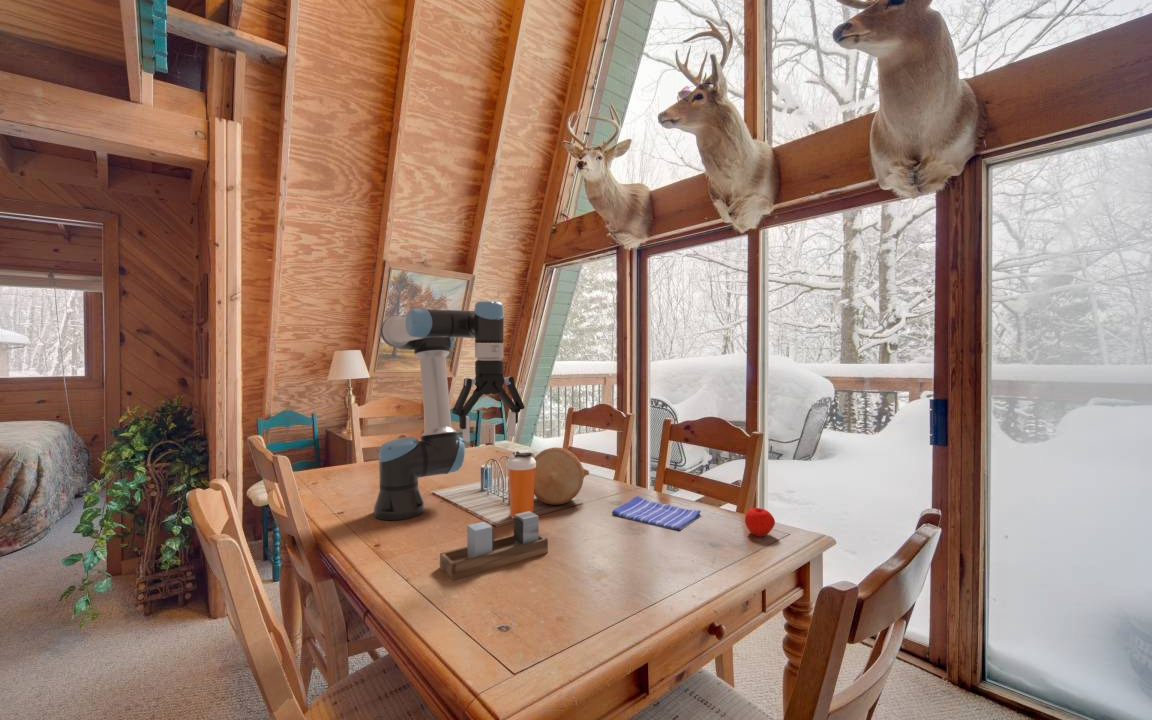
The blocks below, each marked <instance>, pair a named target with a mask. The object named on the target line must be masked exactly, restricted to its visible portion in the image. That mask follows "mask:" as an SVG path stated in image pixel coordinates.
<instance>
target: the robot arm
mask: <svg viewBox="0 0 1152 720" xmlns="http://www.w3.org/2000/svg"><path fill="white" fill-rule="evenodd" d="M504 318H505V315H504V305H503V304H502V302H500V301H489V300H488V301H487V300H485V301H484V300H483V301H477V302H476V303H475V304H474V310H455V309H453V310H452V309H447V310H445V309H428V308H427V309H426V308H411V309H409V310H408V311H407V314H406V315H405V314H404V315H395V316H394V315H393V316H391V317H389V318H385V320H384V321H383V322H382V324H381V326H380V329H379V331H380V338H382V341H384V343H385V344H387V345H388V346H389V347H392V348H394V349H397V350H405V351H407V350H408V351H411V350H412V351H414V357H415V358H416V359H418V360H419V367H420V379H421V391H422V402H423V403H422V404H423V414H424V415H423V416H424V429H425V430H424V432H423V433H422V434H421V435H420V437H421V440H419V439H418V438H417V437H415V436H408V437H400V438H394V439H391V440H388V441H386V442H384V443H382V444H381V446H380V447H379V452H378V453H379V455H378V462H379V468H378V470H379V491H378V495H377V497H376V502H375V504H374V507H373V516H374V518H377V520H378V519H379V520H383V521H399V520H405V519H412V518H414V517H417V516H420V515H421V514H423V513H424V511H425V503H424V499H423V497H422V494H421V491H420V489H419V478H423V477H424V478H425V477H430V476H438V475H439V476H440V475H448V474H450V473H455V472H458V471H459V470H461V468H462V465H463V463H464V461H465V455H466V454H465V452H466V451H465V450H466V447H465V443H464V442H466V443H470V441H471V440H470V439H471V437H470V435H471V432H470V425H471V424H470V416H468V415H469V413H470V412H471V410H472V409H473V407H474V406H475V405H476V403H477V402H478V401H479V399H480V398H481V397H482V396H483V395H487V396H488V395H498V396H499V397H500V399H502V401H503V402H504V404H506V406H507V407H508V409H509V410H510V411H508V413H507V414H508V418H507V419H508V421H507V422H508V424H507V425H508V427H507V428H508V436H511V437H516V435H517V434H516V431H517V429H516V428H517V426H516V425H517V424H518V422H519V413H520V412H521V411H522V410H524V409H525V405H524V402H523V400H522V398H521V395H520V394H519V393H520V392H519V391H518V389H517V387H516V384H515V377H513V376H506V377H504V373H505V372H504V371H505V370H504V365H505V364H504V361H503V360H502V359H504V321H505V320H504ZM455 338H462V339H463V338H465V339H474V354H475V355H474V358H475V359H477V360H475V362H474V374H475V377H474V379H473V378H467V377H466V378H465V377H464V378H463V384H462V385H463V386H462V388H461V390H460V393H459V395H458V397H457V399H456V402H455V404H454V407H453V408H452V411H451V406H450V396H449V395H450V391H449V383H448V371H447V360H446V359H447V357H448V356H449V354H450V350H452V349H453V348H454V346H455ZM504 384H505V385H506V387H507V390H508V392H509V394H510V396H511V397H510V396H509V395H508V393H507V391H506V390H505V388H504V387H503V385H504ZM474 386H475V387H476V388H475V389H474V391H473V392H472V394H471V395H470V397H469V394H470V393H471V390H472V388H473V387H474ZM468 397H469V398H468ZM467 399H468V400H467ZM451 413H452V414H453V415H456V416H458V418H459V429H460V430H462V437H461V436H458V434H457V430H455V428H453V426H452V417H451Z"/></svg>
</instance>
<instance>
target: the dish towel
mask: <svg viewBox="0 0 1152 720" xmlns="http://www.w3.org/2000/svg"><path fill="white" fill-rule="evenodd" d="M701 512H702V510H699V509H689V508H682V507H678V506H676V505H675V506H674V505H671V504H665V503H660V502H657V501H653V500H648V499H646V498H643V497H641V496H639V495H637V496H635V497H633V498H632V499H631V500H630V501H628V502H626V503H624V504H622V505H619V506H618V507H616V508H614V509H613V510H612V511H611V514H612V515H613V516H615V517H621V518H623V519H627V520H631V521H636V522H640V523H645V524H649V525H652V526H656V527H661V528H665V529H669V530H677V531H680V530H683V529H684V528H686V527H687V526H689V525H690V524H692V523H693V522H695V521H696V520H697V519H698V518H700V516H701V514H700V513H701Z"/></svg>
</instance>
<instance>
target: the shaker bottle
mask: <svg viewBox="0 0 1152 720" xmlns="http://www.w3.org/2000/svg"><path fill="white" fill-rule="evenodd" d="M533 455H534V453H532V452H526V451H525V452H520V451H518V450H517V451H514V452H512V453H510V454H509V456H508V461H507V465H506V466H507V470H508V473H507V474H508V475H507V476H508V489H509V491H508V493H509V510H510V511H509V512H510V518H511V517H513V518H515V514H519V513H524V512H528V511H530V512H532V513H534V505H535V504H534V502H535V495H534V483H535V468H536V461H535V459H534V458H535V457H534V456H533ZM513 518H512V519H513Z"/></svg>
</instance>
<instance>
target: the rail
mask: <svg viewBox="0 0 1152 720" xmlns="http://www.w3.org/2000/svg"><path fill="white" fill-rule="evenodd" d="M539 519H540V518H539V515H537V514H536V513H534V512H533V513H532V512H530V511H528V512H524V513H519V514H515V518H514V519H513V534H511V535H506V536H504V537H500V538H496V539H494V551H492V553H489V554H485V555H481V556H478V557H474V558H470V559H469V558H468V557H467V546H464V547H460V548H456V549H452V550H448V551H444V552H440V553H439V568H440V569H441V570H442V572H444V573H445V574H446V575H447V576H448V577H449V578H450V579H451V580H453V581H454V580H457V579H461V578H464V577H468V576H471V575H475V574H479V573H482V572H485V571H488V570H491V569H492V570H493V569H495V568H499V567H503V566H505V565H509V564H513V563H516V562H520V561H523V560H526V559H531V558H535V557H538V556H540V555H545V554H549V547H548V546H549V544H548V542H549V541H548V538H547V537H545V536H543V535H541V534H540V532H539V528H540V527H539V526H540V525H539V523H540V522H539V521H540V520H539Z"/></svg>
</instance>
